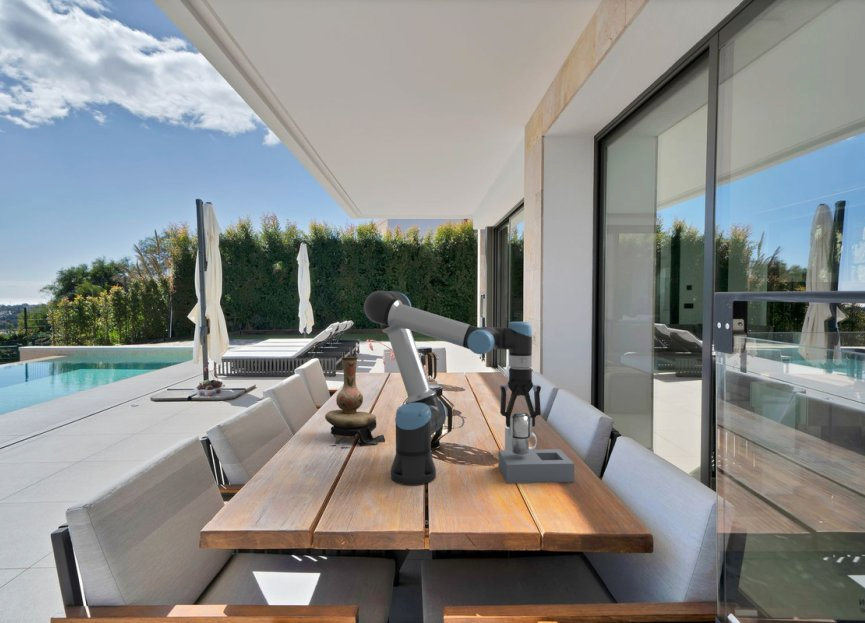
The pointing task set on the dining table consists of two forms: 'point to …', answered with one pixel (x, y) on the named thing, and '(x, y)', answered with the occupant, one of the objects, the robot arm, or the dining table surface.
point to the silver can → (520, 433)
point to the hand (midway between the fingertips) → (520, 436)
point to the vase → (351, 410)
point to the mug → (509, 440)
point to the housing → (536, 466)
